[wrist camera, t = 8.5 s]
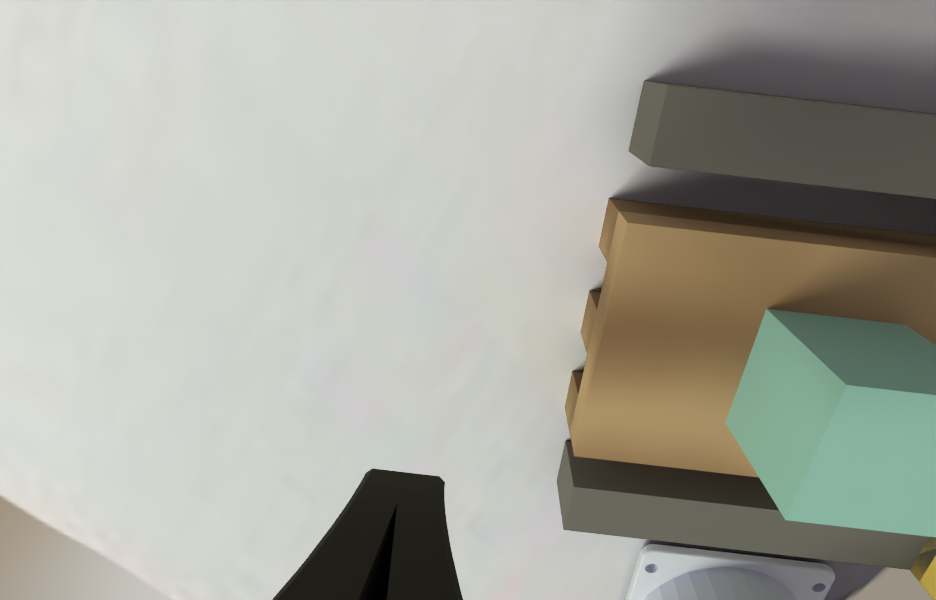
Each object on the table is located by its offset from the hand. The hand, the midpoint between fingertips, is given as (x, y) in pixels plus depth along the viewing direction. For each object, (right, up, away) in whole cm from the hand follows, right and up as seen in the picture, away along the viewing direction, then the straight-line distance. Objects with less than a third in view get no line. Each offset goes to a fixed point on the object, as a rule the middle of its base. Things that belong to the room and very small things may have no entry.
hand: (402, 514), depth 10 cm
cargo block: (+12, +2, +7) cm, 13 cm away
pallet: (+11, +3, +9) cm, 15 cm away
